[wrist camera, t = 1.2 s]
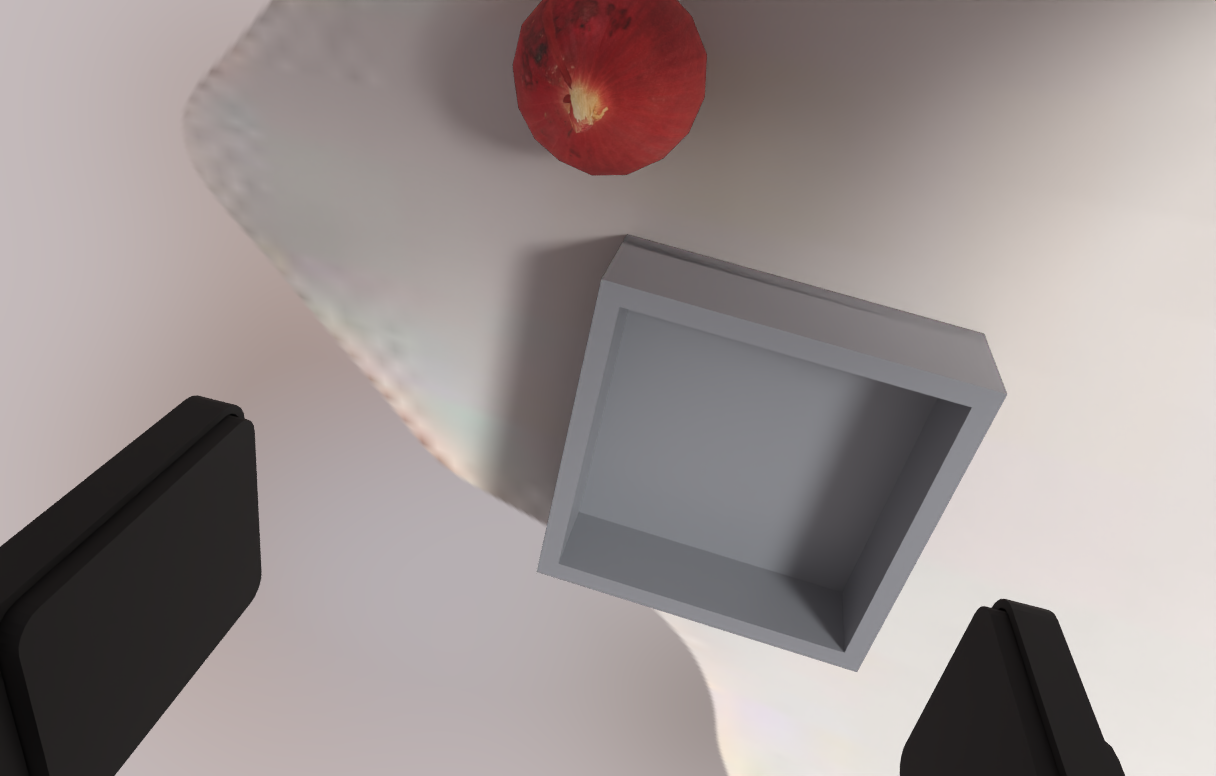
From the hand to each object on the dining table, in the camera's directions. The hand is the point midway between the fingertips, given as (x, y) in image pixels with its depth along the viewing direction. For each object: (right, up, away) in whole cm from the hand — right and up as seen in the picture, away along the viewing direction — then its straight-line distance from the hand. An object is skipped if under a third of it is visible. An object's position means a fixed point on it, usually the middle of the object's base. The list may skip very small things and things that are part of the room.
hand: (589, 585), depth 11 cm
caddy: (+6, +1, +24) cm, 25 cm away
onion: (+1, +14, +18) cm, 23 cm away
